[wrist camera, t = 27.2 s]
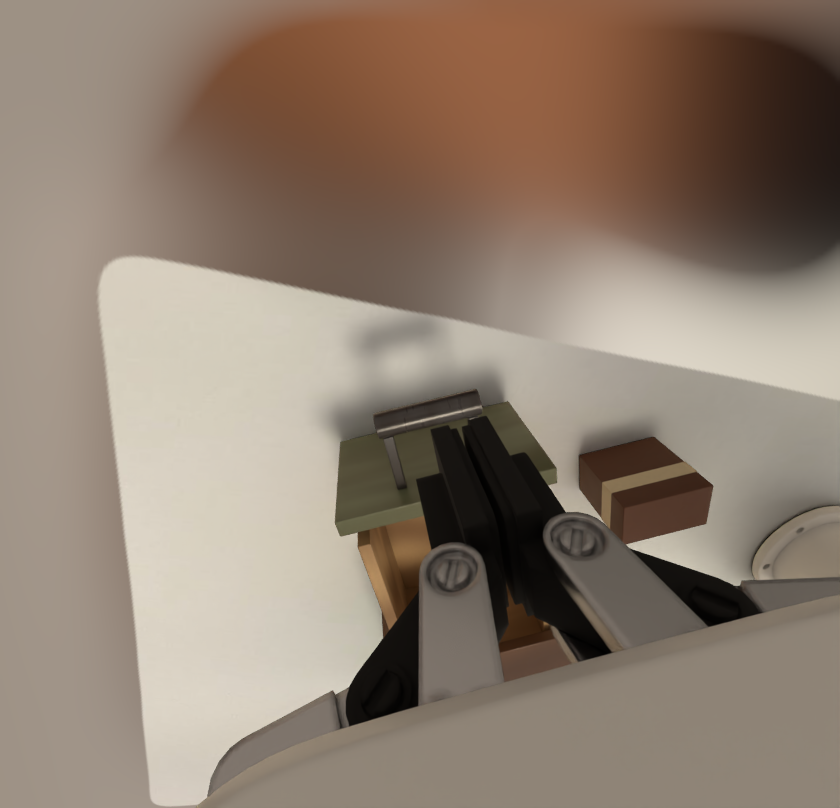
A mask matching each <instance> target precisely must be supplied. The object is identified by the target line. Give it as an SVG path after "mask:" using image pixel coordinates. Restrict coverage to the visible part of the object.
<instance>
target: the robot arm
mask: <svg viewBox="0 0 840 808" xmlns="http://www.w3.org/2000/svg"><path fill="white" fill-rule="evenodd" d="M430 431H431V436H432V441H433V445H434V450H435V454H436V459H437V464H438V468H439V473H438V474H434V475H430V476H426V477H422V478H418V479H416V482H417V487H418V491H419V496H420V500H421V505H422V509H423V514H424V519H425V523H426V528H427V532H428V537H429V541H430V546H431V551H430V552H429V553H428V554H427V555H426V556H425V557H424V559H423V561H422V563H421V565H420V570H419V591H418V592H417V594H416V595H415V596H414V598H413V599H412V600H411V602H410V603H409V605H408V606H407V607H406V609H405V610H404V611H403V613H402V614H401V615H400V617H399V618H398V619H397V621H396V622H395V623H394V625H393V626H392V627H391V629H390V630H389V631H388V633H387V634H386V635H385V637H384V638H383V639H382V641H381V642H380V643H379V645H378V646H377V648H376V649H375V650H374V652H373V653H372V654H371V656H370V657H369V658H368V660H367V661H366V662H365V664H364V665H363V666H362V668H361V669H360V670H359V672H358V673H357V674H356V676H355V678H354V679H353V681H352V683H351V685H350V687H349V688H347V689H345V690H343V691H341V692H340V693H338V694H336V695H335V693H334V692H333V691H331V692H329V693H327V694H325V695H323V696H321V697H319V698H318V699H316V700H314V701H312V702H310V703H308V704H306V705H305V706H303V707H301V708H299V709H297V710H295V711H293V712H291V713H290V714H288V715H286V716H284V717H282V718H280V719H278V720H276V721H275V722H273V723H271V724H269V725H267V726H265V727H263V728H262V729H260V730H258V731H256V732H254V733H252V734H250V735H248V736H247V737H245V738H243V739H241V740H240V741H239V742H237V743H236V744H235V745H233V746H232V747H231V748H230V749H229V750H228V751H227V752H226V754H225V755H224V756H223V757H222V759H221V760H220V761H219V763H218V765H217V767H216V769H215V771H214V773H213V775H212V777H211V780H210V785H209V790H208V795H207V798H206V799H205V800H204V801H202V802H201V803H200V804H199V805H197V806H196V808H840V506H828V507H822V508H818V509H814V510H811V511H809V512H806V513H803V514H801V515H799V516H797V517H795V518H793V519H792V520H790V521H789V522H787V523H785V524H784V525H782V526H781V527H780V528H779V529H777V530H776V531H775V532H774V533H773V534H772V535H771V536H770V537H769V538H767V539H766V541H765V542H764V543H763V544H762V546H761V547H760V548H759V550H758V552H757V553H756V555H755V558H754V560H753V565H752V572H753V576H754V578H755V579H756V580H746V581H742V582H741V585H740V586H733V585H732V584H730V583H728V582H725V581H723V580H721V579H719V578H716V577H713V576H710V575H707V574H704V573H701V572H698V571H695V570H692V569H689V568H686V567H683V566H680V565H677V564H674V563H671V562H668V561H665V560H662V559H659V558H656V557H653V556H650V555H647V554H644V553H641V552H638V551H635V550H632V549H630V548H628V547H627V546H626V545H625V544H624V543H623V542H622V541H621V540H620V539H619V538H618V537H617V536H616V535H615V534H614V533H613V532H612V531H611V530H610V529H609V528H608V527H607V526H606V525H605V524H604V523H603V522H601V521H600V520H599V519H597V518H595V517H593V516H591V515H588V514H584V513H579V512H567V513H566V512H565V510H564V509H563V507H562V506H561V504H560V503H559V501H558V500H557V498H556V497H555V495H554V494H553V492H552V491H551V489H550V488H549V486H548V485H547V483H546V482H545V480H544V479H543V477H542V476H541V474H540V473H539V471H538V470H537V468H536V467H535V465H534V464H533V462H532V461H531V459H530V458H529V456H528V455H527V454H526V453H525V452H521V453H517V454H513V455H510V454H509V453H508V451H507V449H506V448H505V446H504V444H503V443H502V441H501V439H500V437H499V436H498V434H497V432H496V431H495V429H494V427H493V426H492V424H491V422H490V421H489V419H488V417H487V416H482V417H478V418H474V419H470V420H468V425H466V426H462V432H463V438H464V443H463V441H462V439H461V436H460V434H459V432H458V429H457V428H454V429H450V427H449V425H446V426H441V427H437V428H433V429H430ZM464 444H465V445H464ZM506 584H507V586H508V589H509V592H510V594H511V597H512V599H513V602H514V604H515V605H517V604H521V603H522V604H523V606H524V609H525V611H526V614H527V616H532V615H534V616H535V618H537V619H539V620H541V621H544V622H546V623H548V624H549V627H550V630H551V632H552V634H553V636H554V638H555V639H556V641H557V643H558V644H559V646H560V647H561V649H562V651H563V652H564V654H565V655H566V657H567V659H568V660H569V662H570V663H571V664H570V665H566V666H563V667H559V668H555V669H552V670H548V671H544V672H541V673H537V674H533V675H530V676H526V677H522V678H519V679H515V680H511V681H508V682H505V680H504V674H503V668H502V662H501V656H500V650H499V642H500V640H501V639H502V637H503V635H504V633H505V631H506V629H507V627H508V625H509V621H508V614H507V607H509V601H508V594H507V587H506Z"/></svg>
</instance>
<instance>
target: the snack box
mask: <svg viewBox="0 0 840 808" xmlns="http://www.w3.org/2000/svg"><path fill="white" fill-rule="evenodd" d="M579 470H580V490H581V491H582V493H583V494H584V495H585V497H586V498H587V499H588V501H589V502H590V503H591V505H592V506H593V507H594V509H595V510H596V511H597V513H598V514H599V515H600V517H601V519H602V520H603V521H604V523H605V524H606V525H607V527H608V528H609V529H610V530H611V531H612V532H613V533H614V534H615V535H616V536H617V537H618V538H619V539H620V540H621V541H622V542H623V543H624V544H629V543H633V542H637V541H641V540H645V539H649V538H652V537H656V536H660V535H664V534H668V533H672V532H676V531H680V530H684V529H688V528H692V527H696V526H700V525H704V524H706V522H707V517H708V512H709V506H710V501H711V496H712V491H713V485H712V484H711V483H710V482H708V481H707V480H706V479H705V478H704V477H702V476H701V475H700V474H699V473H697V471H696V470H695V469H694V468H692V467H691V466H690V465H689V464H687V463H686V462H684V461H683V460H682V459H680V458H679V457H678V456H677V455H676V454H674V453H673V452H672V451H671V450H669V449H668V448H667V447H666V446H665V445H663V444H662V443H661V442H660V441H658V440H657V439H656V438H655V437H651V438H647V439H643V440H639V441H635V442H631V443H627V444H623V445H618V446H614V447H610V448H606V449H602V450H598V451H594V452H590V453H586V454H582V455H579Z"/></svg>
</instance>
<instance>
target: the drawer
mask: <svg viewBox="0 0 840 808" xmlns="http://www.w3.org/2000/svg"><path fill="white" fill-rule="evenodd" d="M482 416H487V417H488V419H489V421H490V422H491V424H492V426H493V427H494V429H495V431H496V432H497V434H498V436H499V437H500V439H501V441H502V443H503V444H504V446H505V448H506V449H507V451H508V453H509V454H510V455H513V454H517V453H521V452H525V453H526V454H527V455H528V456H529V458H530V459H531V461H532V462H533V464H534V465H535V467H536V468H537V470H538V471H539V473H540V474H541V476H542V477H543V479H544V480H545V482H546V483H547V485H551V484H555V483H557V468H556V467H555V465H554V464H553V462H552V461H551V460H550V458H549V457H548V456H547V454H546V453H545V451H544V450H543V449H542V447H541V446H540V445H539V443H538V442H537V440H536V439H535V438H534V436H533V435H532V433H531V432H530V431H529V429H528V428H527V427H526V425H525V424H524V422H523V421H522V420H521V418H520V417H519V416H518V414H517V413H516V411H515V410H514V409H513V407H512V406H511V405H510V403H509V402H503V403H499V404H495V405H491V406H487V407H483V408H482V404H481V400H480V396H479V394H478V391H477V390H476V389H473V390H469V391H464V392H460V393H456V394H452V395H448V396H444V397H439V398H435V399H431V400H427V401H423V402H419V403H414V404H410V405H406V406H402V407H398V408H393V409H389V410H385V411H381V412H377V413H374V414H373V419H374V424H375V428H376V432H377V433H375V434H371V435H366V436H362V437H358V438H354V439H350V440H346V441H342V442H340V453H339V468H338V483H337V498H336V513H335V525H336V527H337V529H338V532H339V534H340V536H345V535H349V534H353V533H357V532H358V549H359V552H360V554H361V557H362V560H363V562H364V565H365V568H366V570H367V573H368V576H369V578H370V581H371V583H372V586H373V589H374V591H375V594H376V597H377V599H378V602H379V604H380V607H381V610H382V612H383V615H384V618H385V620H386V623H387V625H388V628H389V630H390V629H391V627H392V626H393V625H394V623H395V622H396V621H397V619H398V618H399V617H400V615H401V614H402V613H403V611H404V610H405V609H406V607H407V606H408V605H409V603H410V602H411V600H412V599H413V598H414V596H415V595H416V594H417V592H418V591H419V570H420V565H421V563H422V561H423V559H424V557H425V556H426V555H427V554H428V553H429V552H430V551H431V546H430V541H429V537H428V532H427V528H426V523H425V519H424V514H423V509H422V505H421V500H420V496H419V491H418V487H417V482H416V479H418V478H422V477H426V476H430V475H434V474H438V473H439V468H438V464H437V459H436V454H435V450H434V445H433V441H432V436H431V431H430V429H433V428H437V427H441V426H446V425H449V427H450V429H454V428H457V429H458V432H459V434H460V436H461V439H462V441H463V443H464V438H463V432H462V426H466V425H468V420H470V419H474V418H478V417H482ZM464 445H465V444H464ZM506 587H507V594H508V601H509V607H507V614H508V621H509V625H508V627H507V629H506V631H505V633H504V635H503V637H502V639H501V640H500V642H504V641H507V640H511V639H515V638H519V637H523V636H527V635H531V634H535V633H538V632H542V631H546V630H550V627H549V624H548V623H546V622H544V621H541V620H539V619H537V618H535V616H534V615H532V616H527V614H526V611H525V609H524V606H523V604H522V603H521V604H517V605H515V604H514V602H513V599H512V597H511V594H510V592H509V589H508V586H507V584H506ZM500 642H499V643H500Z"/></svg>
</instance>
